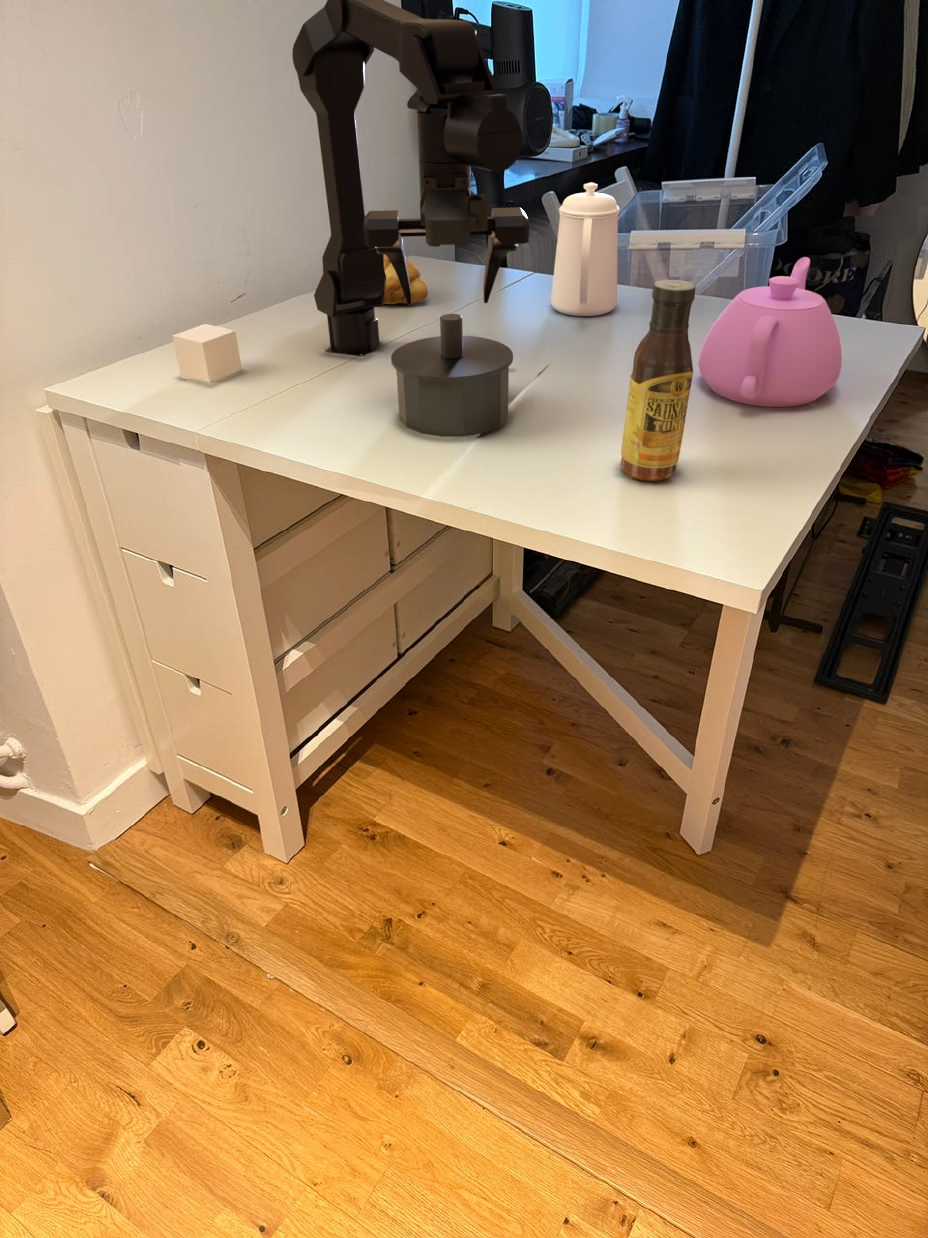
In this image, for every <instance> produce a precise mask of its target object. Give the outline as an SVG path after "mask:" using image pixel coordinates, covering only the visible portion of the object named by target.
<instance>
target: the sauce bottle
mask: <svg viewBox="0 0 928 1238" xmlns="http://www.w3.org/2000/svg"><path fill="white" fill-rule="evenodd" d="M695 295H696V285H695V284H694V282H690V281H686V280H680V279H661V280H657V281H655V282H654V284H653V287H652V292H651V297H652V301H653V303H652V310H651V317H650V321H649V325H648V326H649V330H648V332H647V333H646V335H645V336H643V338H642V339H641V340H640V341H639V343H638V346H637V348H636V350H635V352H634V356H633V366H632V371H631V375H630V379H629V388H628V395H627V403H626V411H625V418H624V427H623V433H622V442H621V451H620V455H621V459H620V469H621V471H622V472H623V473H624V474H625V475H626V476H627V477H629V478H631V479H636V480H640V481H647V482H648V481H649V482H655V481H656V482H659V481H664V480H666V479H667V478H670V477H672V476H673V475H674V474H675V472H676V470H677V464H678V463H679V459H680V454H681V447H682V443H683V437H684V430H685V424H686V418H687V413H688V412H687V411H688V405H689V400H690V394H691V387H692V383H693V382H692V381H693V378H694V377H693V376H694V367H693V358H692V347H691V343H690V340H689V328H690V324H689V321H690V316H691V309H692V305H693V303H694V301H695V297H696V296H695Z"/></svg>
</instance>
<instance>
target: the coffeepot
mask: <svg viewBox="0 0 928 1238" xmlns="http://www.w3.org/2000/svg"><path fill="white" fill-rule="evenodd" d="M583 189H584V190H585V192H579V193H574V194H571V195H569V196H567V197H566V198H565V199H564V200H563V202H562V205H561V206H560V207H559V208H558V210H559V211H558V212H559V223H558V233H557V241H556V250H555V259H554V268H553V276H552V277H553V278H552V286H551V293H550V294H551V295H550V304H551V307H552V308H553V309H554V310H555V311H557V312H559V313H561V314H564V315H568V316H574V317H595V316H602V315H605V314H607V313H610V312H612V311H613V310H614V309H615V308H616V306H617V303H618V244H619V243H618V236H619V233H618V231H619V226H618V225H619V222H618V221H619V214H620V207H619V206H618V205H617V201H616V199H615V198H614V197H613V196H611V195H609V194H606V193H601V192H595V191H596V190H597V189H598V184H597V183H595V182H591V181H590V182H588V183H584V184H583Z"/></svg>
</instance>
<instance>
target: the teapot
mask: <svg viewBox="0 0 928 1238" xmlns="http://www.w3.org/2000/svg"><path fill="white" fill-rule="evenodd" d="M810 265H811V259H810V257H807V256H803V257H800V258H799V259H798V260H797V261H796V263H795V264H794V266H793V268H792V272H791V274H790V276H785V275H784V276H783V275H779V276H773V277H771V278H769V279H768V285H767V286H764V285H763V286H756V287H750V288H747V289H744V290H742V291H740V292H739V293H738V294H736V296H734V298H733V299H732V300H731V301H730V302H729V303H728V305H727V306H726V307H725V308H724V310H722V312H721V314H719V316H718V317H717V319H716V320H715V322H714V323H713V324H712V326H711V328H710V329H709V331H708V333H707V335H706V337H705V339H704V341H703V344H702V347H701V350H700V353H699V358H698V363H697V365H698V369H699V373H700V375H701V376H702V378H703V380H704V382H705V383H706V384H707V385H708V387H709V388H710V389H711V391H713V392H714V393H715V394H717V395H719V396H720V397H723V398H725V399H726V400H727V399H728V400H731V401H733V402H736V403H741V404H745V405H750V406H758V407H766V408H767V407H768V408H788V407H797V406H802V405H806V404H809V403H812V402H815V401H816V400H818V399H819V398H820V397H821V396H823V395H825V394H826V393H827V392H828V391H829V390H830V389H831V388H833V387H834V386H835V384H836V383H837V381H838V380H839V378H840V374H841V369H842V359H843V358H842V344H841V339H840V333H839V331H838V327H837V324H836V322H835V320H834V316H833V313H832V311H831V309H830V307H829V305H828V303H827V301H826V299H825V298H823V296H822V295H820V294H818V293H816V292H813V291H810V290H808V289H806V280H807V275H808V272H809V268H810Z"/></svg>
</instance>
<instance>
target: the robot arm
mask: <svg viewBox="0 0 928 1238" xmlns="http://www.w3.org/2000/svg"><path fill="white" fill-rule="evenodd" d="M375 49H376V50H378V51H380V52H382V53H384V54H385V55H388V56H389V57H392V58H393V59H395V60H396V61H397V63H398V68H399V69H398V70H399V73H400V74H401V75H402V76H403V77H404V78H405V79H406V80H407V81H408V82H410V83H411V84H412V85H413V86H414V87H415V88H416V90H415V92H414V93H413V94H412V95H411V96H410V97H409V99H408V100H407V102H406V106H407V108H408V109H410V110H415V111H416V121H417V123H416V124H417V125H416V126H417V147H418V149H417V150H418V174H419V175H418V176H419V179H418V180H419V213H420V215H419V216H420V218H417V217H416V218H400V214H399V210H397V209H394V210H369V211H368V212H367V213H366V212H365V210H366V209H365V201H364V192H363V181H362V172H361V162H360V153H359V151H360V150H359V141H358V134H357V133H358V131H357V124H356V110H357V107H358V104H359V102H360V100H361V96H362V95H363V92H364V89H365V83H366V82H365V67H366V66H367V63H368V62H369V61H370V59H371V57H372V55H373V54H374V53H375V52H374V51H375ZM291 52H292V53H291V57H292V63H293V66H294V69H295V72H296V75H297V80H298V85H299V89H300V91H301V93H302V95H303V96H304V98H305V99H306V101H307V102H308V104H309V105H310V107H311V108H312V110H313V111H314V112H315V116H316V122H317V130H318V139H319V147H320V156H321V162H322V170H323V179H324V187H325V195H326V204H327V212H328V219H329V227H330V237H329V238H328V242H327V245H326V247H325V250H324V252H323V254H322V276H321V278H320V280H319V282H318V284H317V287H316V289H315V291H314V293H313V296H314V301H315V305H316V309H317V311H319V312H320V313H323V314H324V315H326V319H327V326H328V327H327V328H328V337H329V343H330V344H329V346H330V347H328V348H326V349H325V350H324V351H325V353H332V354H340V355H346V356H347V355H348V356H353V357H365V356H366V355H368V354H369V353H372V352H373V351H375V350H377V349H378V348H379V347H380V346H381V345H382V344H383V342H382V341H380V331H379V320H378V318H377V317H376V315H375V314H376V313H375V308H382V307H383V306H384V303H383V301H384V292H385V284H386V274H385V270H384V254H385V255H386V256H387V257H388V259H389V260H390V262H391V264H392V266H393V267H394V269H395V271H396V274H397V276H398V279H399V281H400V284H401V287H402V290H403V292H404V295H405V298H406V301H407V303H408V304H407V303H406V304H407V305H408V306H412V304H411V287H410V281H409V275H408V269H407V263H406V259H407V258H406V252H405V245H404V239H403V237H404V238H405V237H425V243H426V245H428V246H429V247H433V248H434V247H435V248H437V247H441V246H450V245H451V246H452V245H454V246H457V247H464V246H467V245H468V244H470V242H471V236H487V235H488V239H487V249H486V258H485V269H484V278H483V304H488V303H489V300H490V297H491V293H492V292H493V291H492V290H493V287H494V284H495V281H496V278H497V275H498V273H499V270H500V267H501V266H502V263H503V261H504V259H505V258H506V256H507V255H508V253H510V252H516V251H517V249H518V245H519V244H520V245H521V244H522V245H523V244H524V245H525V244H528V243H529V242H530V220H529V218H528V216H527V214H526V212H525V211H524V210H523V209H522V208H521V207H492V208H491V214H490V215H491V216H488V195H487V194H486V193H483V194H482V193H480V194H476V193H475V194H473V193H471V191H472V189H471V185H472V184H471V180H472V179H471V168H477V169H481V170H485V171H489V172H495V173H502V172H504V171H507V170H509V168H511V167H513V165H514V164H515V162H516V161H517V160H518V157H519V156H520V153H521V150H522V147H523V146H522V145H523V131H522V130H521V125H520V124H521V123H520V122H519V119H518V117H517V116H516V115H515V113H514V112H512V110H510V109H508V97H507V95H506V94H504V93H498V89H497V86H496V84H495V82H496V78H495V77H494V74H493V73H492V71H491V69H490V66H489V64H488V62H487V59H486V55H485V53H484V50H483V47H482V45H481V42H480V39H479V38H478V36H477V29H476V28H475V27H474V25H473V24H472V23H470V22H469V21H468V20H458V19H440V18H439V19H437V18H434V19H433V18H422V16H419V15H417V14H415V13H412V12H411V11H408V10H405V9H403V8H401V7H399V6H397V5H395V4H392V3H390V2H388V1H386V0H326V2H325V5H324V6H323V7H322V8H321V9H319V10H318V11H317V12H316V13H314V15H312V16H311V17H310V18H308V19H307V20H306V21H305V22H304V23H303V24H302V25H301V28H300V29H299V32H298V34H297V36H296V39H295V41H294V43H293V45H292V51H291ZM376 247H377V248H376Z"/></svg>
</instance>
